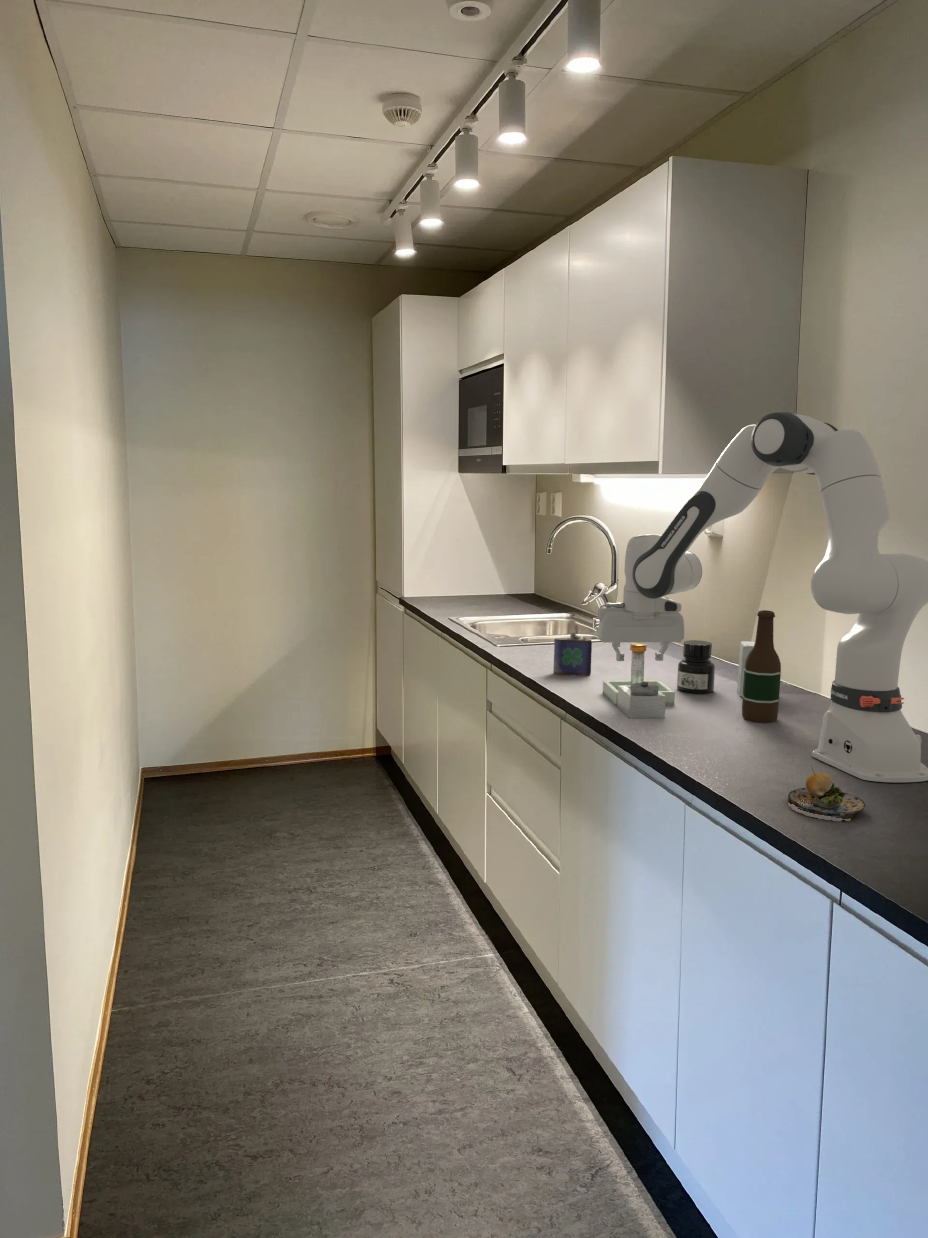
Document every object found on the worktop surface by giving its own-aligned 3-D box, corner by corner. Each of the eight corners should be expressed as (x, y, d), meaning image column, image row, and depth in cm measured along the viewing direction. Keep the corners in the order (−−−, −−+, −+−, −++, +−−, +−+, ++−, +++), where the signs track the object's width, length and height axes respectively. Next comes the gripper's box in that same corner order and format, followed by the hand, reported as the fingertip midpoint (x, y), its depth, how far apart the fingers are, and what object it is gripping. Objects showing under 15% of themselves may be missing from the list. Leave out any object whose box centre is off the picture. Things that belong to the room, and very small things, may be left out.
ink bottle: (668, 689, 232) (670, 642, 230) (687, 684, 238) (690, 637, 236) (703, 696, 225) (706, 647, 223) (721, 690, 231) (724, 643, 229)
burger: (865, 827, 144) (869, 781, 143) (785, 816, 148) (788, 771, 147) (863, 802, 155) (867, 759, 154) (788, 793, 159) (791, 750, 158)
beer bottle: (753, 724, 201) (760, 614, 197) (734, 715, 208) (740, 609, 204) (785, 722, 203) (792, 613, 199) (764, 713, 210) (771, 608, 207)
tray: (674, 704, 217) (674, 692, 216) (615, 705, 215) (616, 692, 215) (658, 692, 229) (659, 680, 228) (602, 692, 227) (603, 680, 227)
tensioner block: (665, 718, 205) (666, 685, 204) (629, 718, 204) (630, 685, 203) (651, 706, 215) (652, 675, 214) (617, 706, 214) (618, 675, 213)
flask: (552, 674, 247) (554, 631, 245) (553, 672, 250) (555, 629, 248) (590, 676, 245) (592, 633, 243) (591, 674, 248) (592, 631, 246)
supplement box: (771, 699, 224) (774, 647, 222) (739, 697, 225) (742, 645, 223) (767, 691, 231) (771, 641, 229) (736, 690, 232) (739, 640, 230)
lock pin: (646, 696, 221) (648, 646, 219) (631, 697, 221) (632, 646, 219) (642, 692, 225) (643, 643, 223) (626, 693, 225) (628, 643, 222)
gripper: (602, 604, 214) (599, 663, 216) (688, 604, 216) (685, 663, 218) (595, 601, 220) (593, 658, 223) (679, 600, 222) (676, 657, 225)
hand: (639, 660), depth 220 cm, fingers open, 8 cm apart
